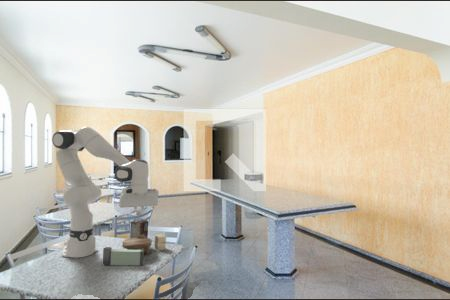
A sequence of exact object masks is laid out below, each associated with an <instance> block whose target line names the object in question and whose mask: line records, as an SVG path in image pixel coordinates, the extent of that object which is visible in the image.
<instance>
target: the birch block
mask: <svg viewBox="0 0 450 300" xmlns="http://www.w3.org/2000/svg"><path fill="white" fill-rule="evenodd" d="M166 242H167V236H166V235H164V234H156V235H154V249H155V250H156V251H158V252H159V251H164V250H166V247H167V245H166V244H167V243H166Z"/></svg>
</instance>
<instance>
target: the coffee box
mask: <svg viewBox="0 0 450 300" xmlns="http://www.w3.org/2000/svg"><path fill="white" fill-rule="evenodd" d="M129 230H130V231H129V232H130V233H129V238H136V237H143V238H149V237H148V234H149V231H148V230H149V220H146V219H142V218H141V219H138V220H137V219H136V220H132V221H130V229H129Z"/></svg>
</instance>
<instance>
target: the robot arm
mask: <svg viewBox="0 0 450 300" xmlns="http://www.w3.org/2000/svg"><path fill="white" fill-rule="evenodd" d="M51 141H52V144H53V146H54V147H55V148H57V149H58V150H56V153H55V155H56V160H57V161H56V162H57V164H58V166H59V167H58V168H59V170H60V171H61V175H62V177H63V179H64V180H65V182H66V183H68V184H70V185H71V186H72V187H70V188H69V189H67V190H66V191H64V193H63V195H62V201H63V203H64V205H66V206H67V207H68V209H69V211H70V212H69V213H70V218H71V220H70V230H69V237H68V239H67V240H66V241H64V243H63V245H64V246H63V249H62V254H61V257H63V258H64V257H65V258H72V259H73V258H75V259H78V258H84V257H88V256H92V255H93V254H95V253H96V252H98V251H99V248H98V247H96V237H95V236H94V227H93V223H94V221H93V220H94V214H93V213H92V212H91V211H90V209H89V204H91V203H94V202H96V201H97V200H99V199H100V198H101V196H102V189H101V188H100V186H98V185H97V184H96V183H94V182H93V181H92V179H91V178H90V177H89V175H87V173H86V171H85V168H84V166H83V164H82V162H81V159H80V157H79V155H78V153H79V152H83V151H84V149H85V150H86V151H87V152H88V153H89V154H91V155H92V156H94V157H96V158H99V159H100V158H102V159H105V160H109V161H112V162H113V163H115V164H116V165H117V167H115V170H114V177H115V180H116V181H117V182H118V183H130V185H129V186H126V187H123V188H122V189H121V192H122V193H121V194H120V196H119V200H118V201H119V202H118V206H119V207H120V208H133V210H134V211H135V216H141V215H142V214H143V213H142V212H143V210H144V209H145V207H156V206H157V205H158V204H159V199H158V197H159V190H158V189H156V188H149V180H148V178H149V175H150V174H149V172H150V171H149V163H148V161H146V160H144V159H140V158H135V159H133V160H131V159H129V158H127V157H126V156H125V155H124V154H123V153H122V152H120V150H118V149H116V148H115V147H114V146H113V145H112V144H111V143H110V142H108V140H107V139H105V138H104V136H102V134H100V133H99V132H98V131H96V130H95V129H93V128H92V127H90V126H84V127H81V128H80V129H79V130H77V129H69V130H68V129H67V130H65V129H63V130H62V129H61V130H58V131H56V132H54V133H53V135H52V139H51ZM138 208H140V210H137V209H138Z"/></svg>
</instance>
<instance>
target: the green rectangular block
mask: <svg viewBox="0 0 450 300" xmlns="http://www.w3.org/2000/svg"><path fill="white" fill-rule="evenodd" d="M102 252H103V253H102V265H103V266H109V265H110V266H142V265H143V264H144V256H145V254H144V249H139V250H127V249H120V248H119V249H116V248H115V249H112V247H111V246H107V247H103V251H102Z"/></svg>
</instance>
